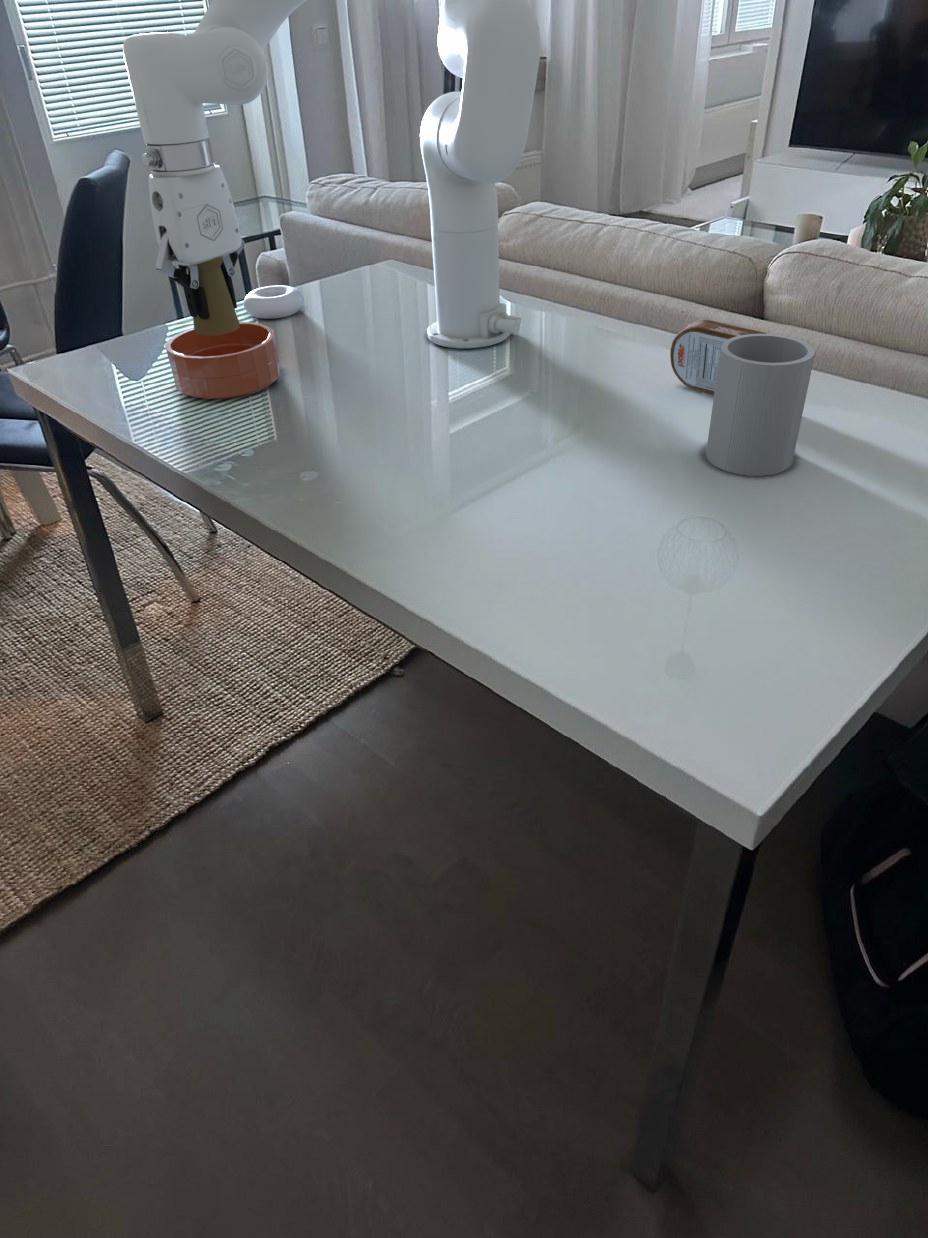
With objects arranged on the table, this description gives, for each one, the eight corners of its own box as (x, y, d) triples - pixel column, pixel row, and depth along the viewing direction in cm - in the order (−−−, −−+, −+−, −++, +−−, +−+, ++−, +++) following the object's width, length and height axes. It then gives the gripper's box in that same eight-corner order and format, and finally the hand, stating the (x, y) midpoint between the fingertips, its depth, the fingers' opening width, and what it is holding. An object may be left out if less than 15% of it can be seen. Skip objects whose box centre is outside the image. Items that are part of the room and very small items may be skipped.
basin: (302, 373, 120) (295, 330, 116) (227, 410, 111) (217, 365, 107) (231, 356, 127) (223, 315, 123) (154, 390, 118) (143, 347, 114)
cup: (689, 455, 95) (702, 348, 87) (741, 431, 99) (758, 327, 92) (757, 484, 89) (777, 372, 81) (809, 457, 93) (833, 348, 86)
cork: (248, 322, 116) (231, 235, 109) (224, 337, 111) (205, 247, 105) (210, 319, 117) (191, 234, 111) (185, 334, 113) (164, 246, 106)
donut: (240, 323, 140) (300, 320, 139) (235, 302, 138) (296, 298, 137) (253, 304, 148) (310, 301, 147) (248, 284, 146) (306, 280, 145)
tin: (783, 404, 104) (796, 335, 99) (770, 412, 102) (783, 343, 97) (676, 377, 113) (683, 312, 108) (663, 384, 111) (669, 319, 106)
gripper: (144, 171, 95) (184, 335, 106) (253, 148, 106) (278, 299, 117) (102, 167, 98) (145, 326, 109) (212, 145, 109) (240, 291, 120)
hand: (213, 310), depth 113 cm, fingers closed on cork, 4 cm apart
